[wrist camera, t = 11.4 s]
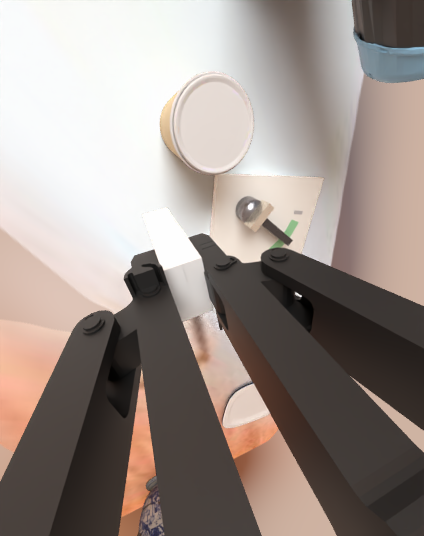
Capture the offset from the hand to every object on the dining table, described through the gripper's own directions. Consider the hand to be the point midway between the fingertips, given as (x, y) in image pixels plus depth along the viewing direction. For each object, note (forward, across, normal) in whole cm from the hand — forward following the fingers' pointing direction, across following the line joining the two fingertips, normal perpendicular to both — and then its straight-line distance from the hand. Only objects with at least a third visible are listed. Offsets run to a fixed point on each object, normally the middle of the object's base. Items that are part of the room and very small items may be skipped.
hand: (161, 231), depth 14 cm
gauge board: (+24, +21, -14) cm, 35 cm away
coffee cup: (+25, +9, +4) cm, 27 cm away
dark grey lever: (+23, +20, -14) cm, 33 cm away
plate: (+25, +15, -83) cm, 88 cm away
